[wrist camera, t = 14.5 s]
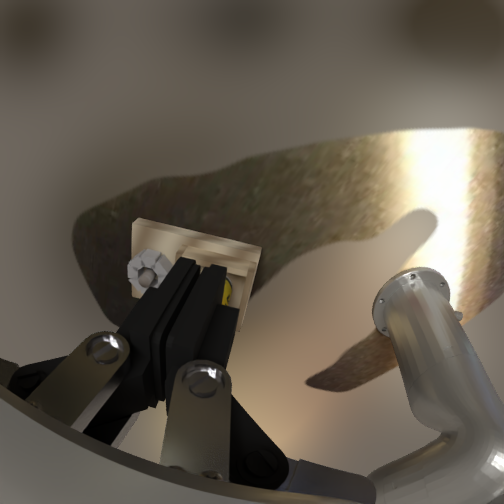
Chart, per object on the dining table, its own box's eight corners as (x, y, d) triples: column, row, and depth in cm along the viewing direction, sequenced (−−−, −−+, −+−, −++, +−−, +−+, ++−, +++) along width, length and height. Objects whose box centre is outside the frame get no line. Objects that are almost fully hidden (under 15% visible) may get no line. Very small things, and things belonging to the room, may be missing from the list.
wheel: (175, 255, 38) (170, 263, 37) (172, 292, 41) (167, 301, 40) (134, 245, 39) (127, 251, 37) (134, 281, 41) (128, 289, 40)
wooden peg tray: (261, 247, 39) (257, 269, 34) (243, 317, 45) (238, 343, 40) (138, 217, 39) (119, 234, 34) (137, 288, 45) (122, 309, 40)
